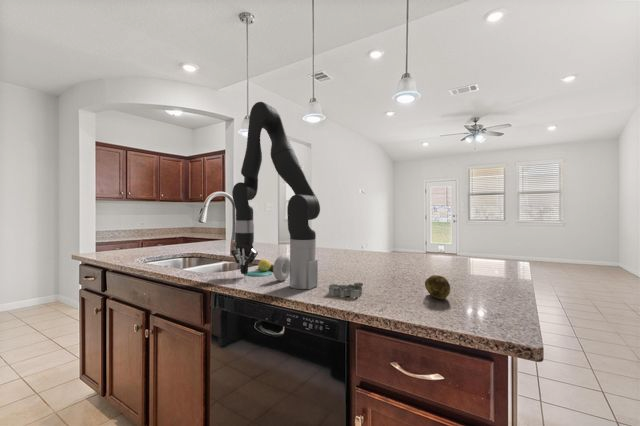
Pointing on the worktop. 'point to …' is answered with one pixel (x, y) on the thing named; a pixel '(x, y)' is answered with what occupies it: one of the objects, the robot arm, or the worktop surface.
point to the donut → (281, 268)
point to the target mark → (258, 273)
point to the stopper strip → (270, 268)
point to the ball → (264, 265)
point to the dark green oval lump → (437, 286)
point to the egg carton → (346, 290)
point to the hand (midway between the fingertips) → (244, 273)
